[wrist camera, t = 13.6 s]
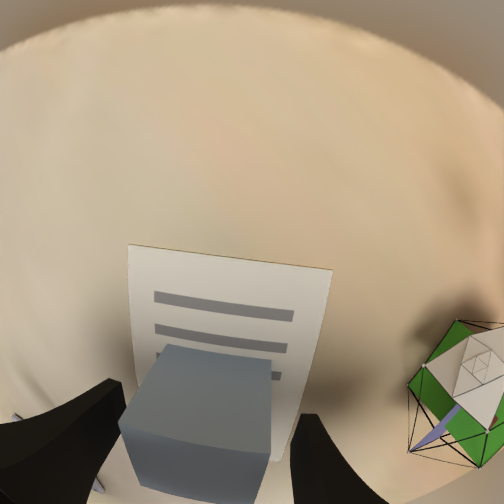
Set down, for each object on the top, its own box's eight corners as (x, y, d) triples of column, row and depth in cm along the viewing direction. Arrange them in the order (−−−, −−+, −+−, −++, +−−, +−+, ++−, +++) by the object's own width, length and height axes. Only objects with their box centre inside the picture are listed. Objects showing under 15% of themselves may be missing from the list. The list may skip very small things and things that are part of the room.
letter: (148, 438, 13) (147, 439, 13) (129, 244, 10) (128, 244, 10) (279, 460, 13) (280, 461, 13) (332, 269, 10) (333, 270, 10)
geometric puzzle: (530, 349, 8) (588, 388, 2) (461, 438, 10) (465, 521, 3) (454, 288, 12) (484, 288, 6) (387, 383, 14) (354, 449, 7)
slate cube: (171, 412, 12) (140, 485, 7) (167, 343, 11) (117, 421, 6) (257, 427, 12) (252, 507, 7) (271, 359, 11) (270, 453, 6)
